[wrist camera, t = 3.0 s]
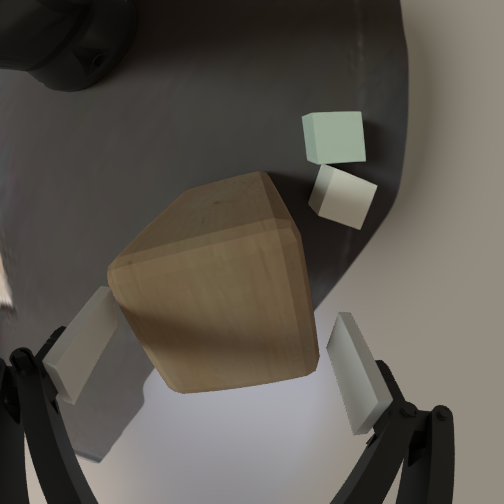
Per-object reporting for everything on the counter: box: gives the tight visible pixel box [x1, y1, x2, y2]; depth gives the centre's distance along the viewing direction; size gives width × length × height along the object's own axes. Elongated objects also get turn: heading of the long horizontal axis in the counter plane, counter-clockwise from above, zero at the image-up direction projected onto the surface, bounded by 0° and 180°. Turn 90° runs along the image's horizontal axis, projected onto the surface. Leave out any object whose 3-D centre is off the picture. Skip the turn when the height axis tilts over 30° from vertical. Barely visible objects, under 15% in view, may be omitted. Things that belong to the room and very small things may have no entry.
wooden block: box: [107, 171, 320, 394], centre depth 23 cm, size 10×10×20 cm
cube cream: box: [308, 164, 377, 230], centre depth 28 cm, size 5×5×5 cm
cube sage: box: [302, 112, 366, 164], centre depth 26 cm, size 5×5×5 cm
